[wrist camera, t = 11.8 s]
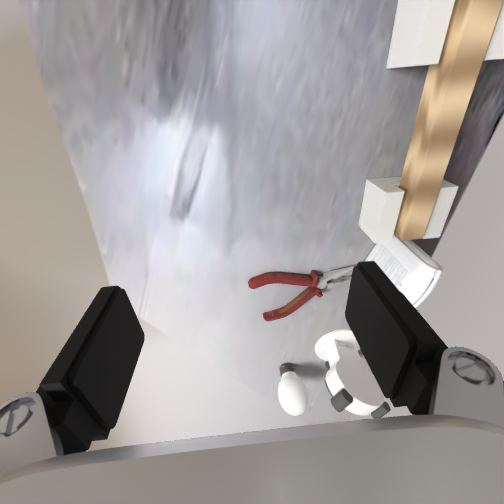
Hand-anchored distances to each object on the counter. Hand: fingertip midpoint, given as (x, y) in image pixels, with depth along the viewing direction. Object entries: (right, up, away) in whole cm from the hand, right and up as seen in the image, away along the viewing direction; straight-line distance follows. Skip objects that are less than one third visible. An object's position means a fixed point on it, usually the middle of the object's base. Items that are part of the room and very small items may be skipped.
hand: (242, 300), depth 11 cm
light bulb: (+9, -27, +55) cm, 62 cm away
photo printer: (+24, +2, +37) cm, 44 cm away
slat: (+23, +18, +23) cm, 37 cm away
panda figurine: (+21, -20, +51) cm, 59 cm away
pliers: (+10, -5, +41) cm, 43 cm away
